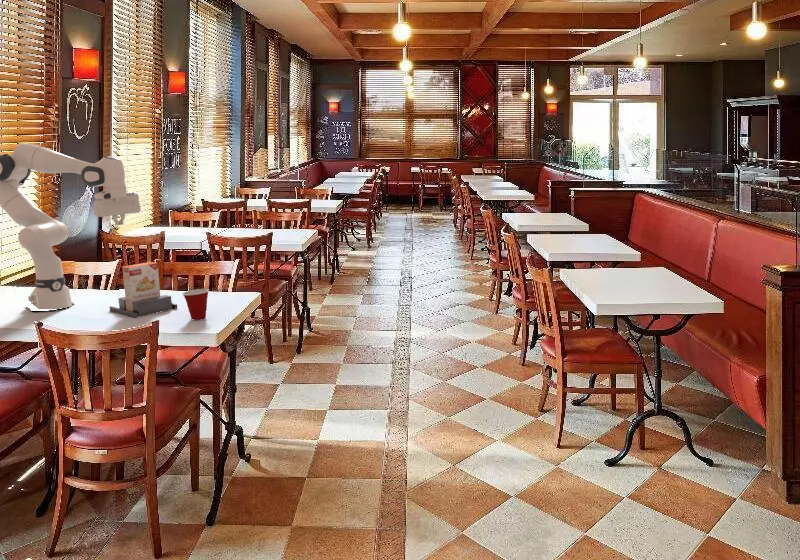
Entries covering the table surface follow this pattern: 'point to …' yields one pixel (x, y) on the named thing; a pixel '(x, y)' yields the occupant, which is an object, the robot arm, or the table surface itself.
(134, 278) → the cracker box
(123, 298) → the block
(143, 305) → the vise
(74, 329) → the table surface
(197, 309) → the plastic cup
